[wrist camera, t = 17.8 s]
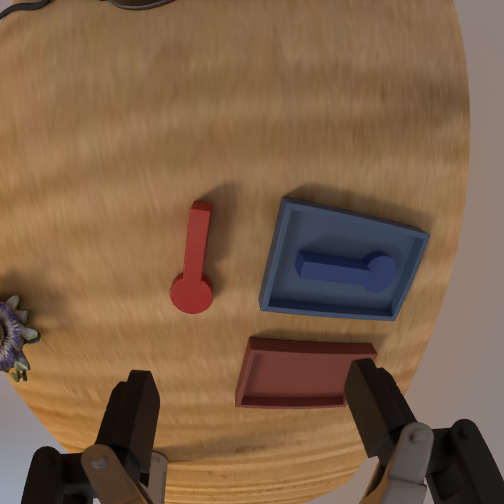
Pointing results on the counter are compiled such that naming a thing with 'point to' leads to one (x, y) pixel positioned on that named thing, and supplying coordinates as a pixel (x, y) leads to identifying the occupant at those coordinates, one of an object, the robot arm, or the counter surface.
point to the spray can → (155, 478)
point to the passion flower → (15, 337)
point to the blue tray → (344, 245)
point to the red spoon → (194, 264)
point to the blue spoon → (348, 269)
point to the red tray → (296, 373)
